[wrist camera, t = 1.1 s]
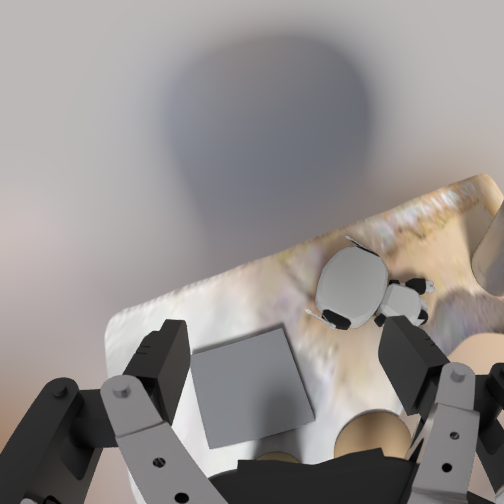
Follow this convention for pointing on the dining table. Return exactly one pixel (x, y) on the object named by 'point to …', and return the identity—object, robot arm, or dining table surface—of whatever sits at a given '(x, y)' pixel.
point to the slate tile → (249, 390)
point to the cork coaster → (374, 435)
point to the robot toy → (366, 291)
